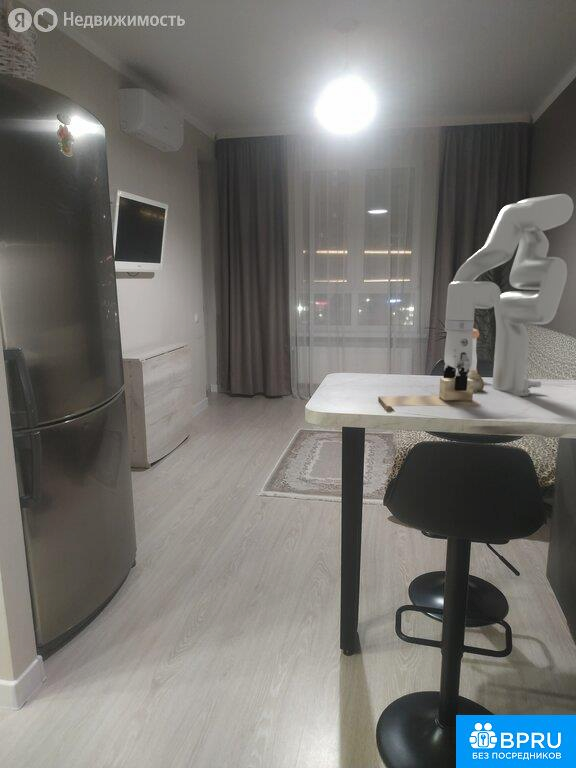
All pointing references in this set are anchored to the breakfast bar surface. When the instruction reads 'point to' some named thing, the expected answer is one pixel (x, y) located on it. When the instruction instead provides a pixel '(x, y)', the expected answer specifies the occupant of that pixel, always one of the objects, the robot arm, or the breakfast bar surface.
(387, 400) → the plank
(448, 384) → the block
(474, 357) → the pepper shaker
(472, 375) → the beige stone
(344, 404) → the breakfast bar surface
